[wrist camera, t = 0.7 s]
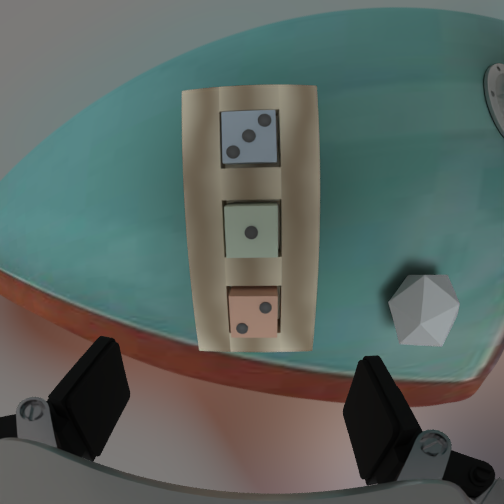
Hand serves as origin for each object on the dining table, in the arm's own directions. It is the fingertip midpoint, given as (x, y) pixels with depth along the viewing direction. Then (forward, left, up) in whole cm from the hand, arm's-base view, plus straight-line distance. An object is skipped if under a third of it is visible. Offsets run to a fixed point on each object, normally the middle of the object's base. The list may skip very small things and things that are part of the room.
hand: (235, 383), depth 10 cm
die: (-19, +6, -21) cm, 29 cm away
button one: (0, -3, -18) cm, 18 cm away
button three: (0, -11, -18) cm, 21 cm away
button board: (0, -3, -21) cm, 21 cm away
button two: (0, +5, -18) cm, 19 cm away
